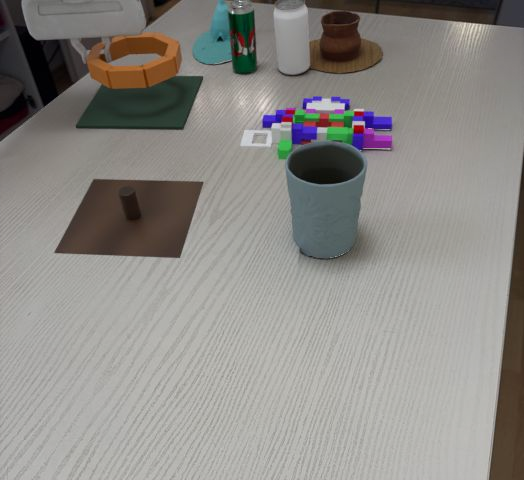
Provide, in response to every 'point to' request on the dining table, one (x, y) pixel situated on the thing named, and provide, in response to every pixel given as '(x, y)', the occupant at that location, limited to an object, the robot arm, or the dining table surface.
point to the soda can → (242, 36)
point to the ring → (138, 73)
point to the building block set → (320, 126)
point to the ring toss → (132, 218)
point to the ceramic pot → (342, 45)
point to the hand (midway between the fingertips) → (97, 62)
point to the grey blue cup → (325, 196)
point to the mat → (143, 105)
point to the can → (292, 36)
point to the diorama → (215, 38)
